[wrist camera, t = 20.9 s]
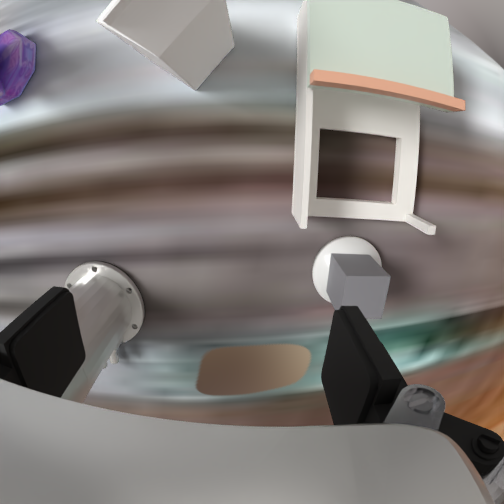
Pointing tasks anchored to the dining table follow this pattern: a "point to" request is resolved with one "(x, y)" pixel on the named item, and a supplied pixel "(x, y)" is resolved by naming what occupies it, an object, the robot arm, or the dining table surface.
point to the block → (357, 283)
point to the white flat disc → (343, 247)
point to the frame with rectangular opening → (360, 121)
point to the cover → (381, 51)
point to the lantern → (15, 64)
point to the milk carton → (174, 34)
